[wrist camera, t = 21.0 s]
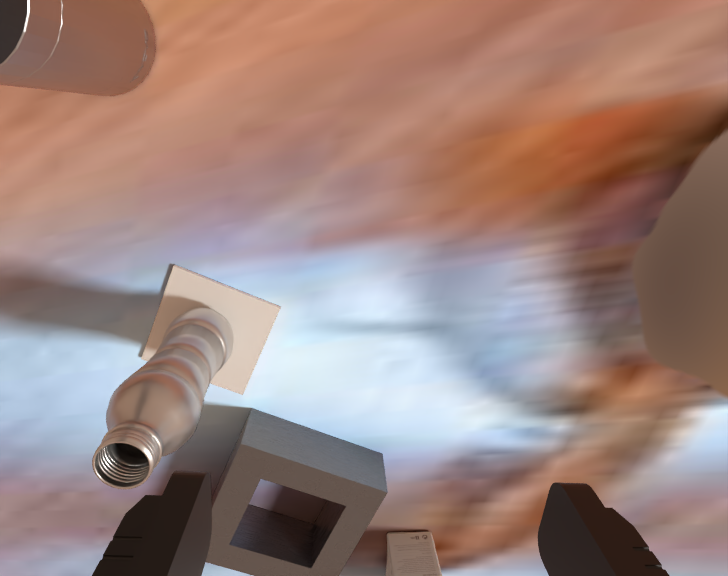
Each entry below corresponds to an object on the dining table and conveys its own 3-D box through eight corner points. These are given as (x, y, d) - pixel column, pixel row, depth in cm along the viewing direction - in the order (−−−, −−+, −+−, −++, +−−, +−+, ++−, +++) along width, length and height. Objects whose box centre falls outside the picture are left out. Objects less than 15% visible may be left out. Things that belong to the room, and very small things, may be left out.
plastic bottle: (164, 345, 48) (53, 488, 29) (187, 289, 46) (85, 404, 27) (223, 369, 49) (154, 521, 31) (248, 316, 48) (191, 442, 29)
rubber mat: (142, 357, 49) (141, 358, 49) (174, 264, 46) (173, 265, 45) (243, 392, 51) (242, 394, 51) (280, 306, 48) (280, 308, 47)
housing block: (204, 513, 56) (189, 557, 51) (251, 408, 52) (241, 443, 46) (327, 550, 59) (326, 595, 54) (382, 453, 55) (387, 492, 49)
